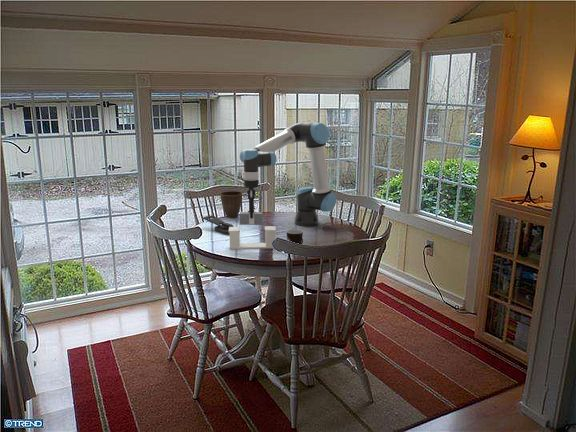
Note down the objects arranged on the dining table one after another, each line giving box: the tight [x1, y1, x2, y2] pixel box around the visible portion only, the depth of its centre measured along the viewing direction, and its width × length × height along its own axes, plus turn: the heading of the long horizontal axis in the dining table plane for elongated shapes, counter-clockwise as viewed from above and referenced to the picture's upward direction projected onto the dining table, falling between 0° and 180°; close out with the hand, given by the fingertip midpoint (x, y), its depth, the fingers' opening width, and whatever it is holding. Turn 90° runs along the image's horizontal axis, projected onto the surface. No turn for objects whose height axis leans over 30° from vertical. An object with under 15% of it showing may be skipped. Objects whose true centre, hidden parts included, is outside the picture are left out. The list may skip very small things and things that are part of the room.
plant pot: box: [219, 190, 244, 219], centre depth 326 cm, size 15×15×16 cm
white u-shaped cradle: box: [229, 225, 277, 250], centre depth 263 cm, size 25×8×10 cm, turn 94°
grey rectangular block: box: [239, 211, 264, 226], centre depth 261 cm, size 12×4×6 cm, turn 93°
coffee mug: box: [286, 228, 304, 245], centre depth 256 cm, size 12×9×10 cm
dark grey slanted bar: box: [202, 214, 235, 236], centre depth 295 cm, size 9×7×25 cm
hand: (251, 222), depth 262 cm, fingers closed on grey rectangular block, 4 cm apart
